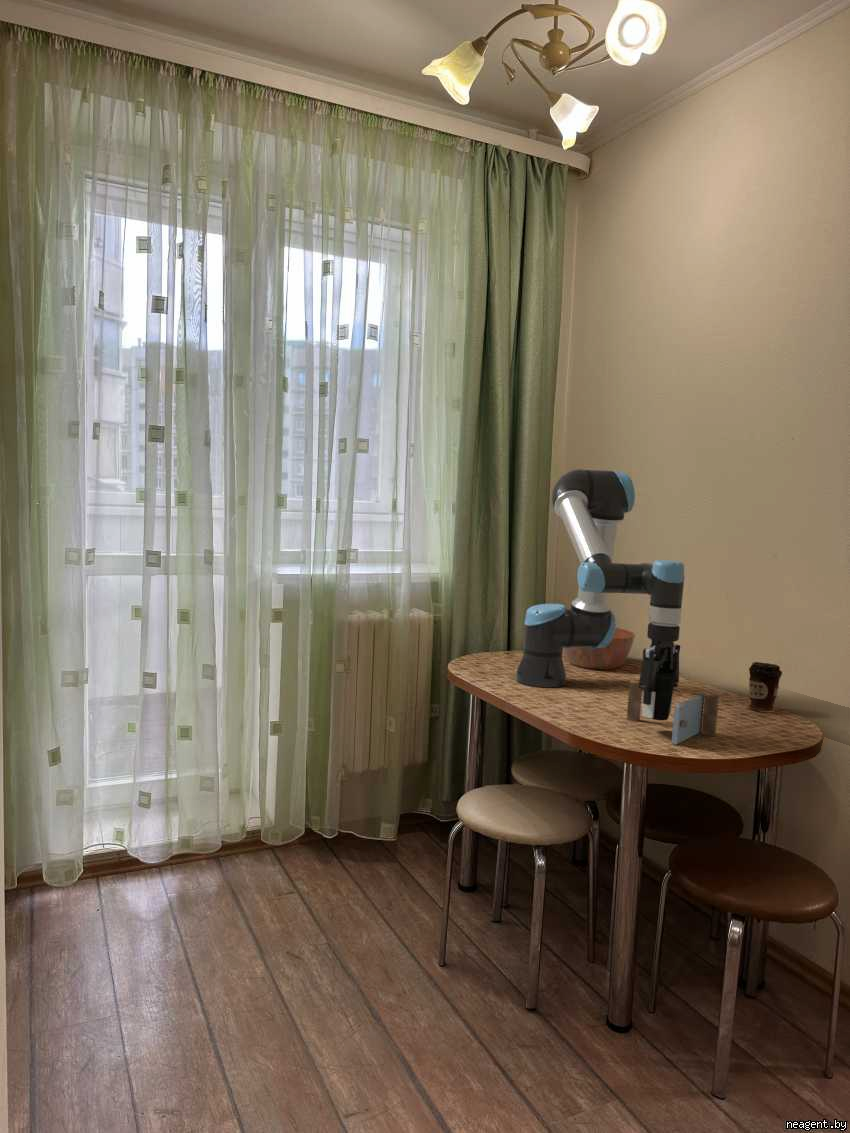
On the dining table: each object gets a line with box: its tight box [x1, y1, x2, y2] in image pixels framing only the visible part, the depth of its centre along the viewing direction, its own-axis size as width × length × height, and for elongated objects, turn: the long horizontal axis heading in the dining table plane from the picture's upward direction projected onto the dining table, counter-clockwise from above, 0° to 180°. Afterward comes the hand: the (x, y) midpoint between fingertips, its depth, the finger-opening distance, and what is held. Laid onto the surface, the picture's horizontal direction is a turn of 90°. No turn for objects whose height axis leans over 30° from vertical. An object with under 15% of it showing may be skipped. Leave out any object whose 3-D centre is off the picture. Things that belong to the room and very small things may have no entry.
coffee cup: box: [748, 661, 783, 713], centre depth 239 cm, size 9×8×13 cm
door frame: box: [626, 679, 720, 737], centre depth 217 cm, size 22×2×10 cm, turn 59°
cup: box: [646, 666, 677, 721], centre depth 212 cm, size 8×8×12 cm
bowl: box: [562, 627, 636, 671], centre depth 288 cm, size 25×25×12 cm
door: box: [671, 691, 706, 745], centre depth 208 cm, size 16×2×10 cm, turn 140°
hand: (656, 714), depth 213 cm, fingers closed on cup, 8 cm apart
